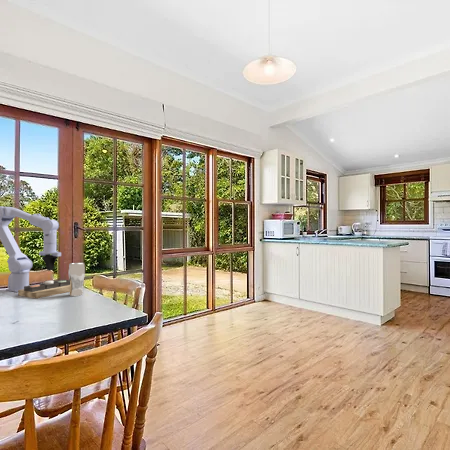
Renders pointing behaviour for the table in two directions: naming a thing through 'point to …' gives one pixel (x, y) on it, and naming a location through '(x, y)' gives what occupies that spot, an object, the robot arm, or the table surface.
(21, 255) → the robot arm
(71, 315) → the table surface
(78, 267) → the beer glass
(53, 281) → the button grey
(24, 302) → the table surface
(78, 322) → the table surface
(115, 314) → the table surface
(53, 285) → the button panel
